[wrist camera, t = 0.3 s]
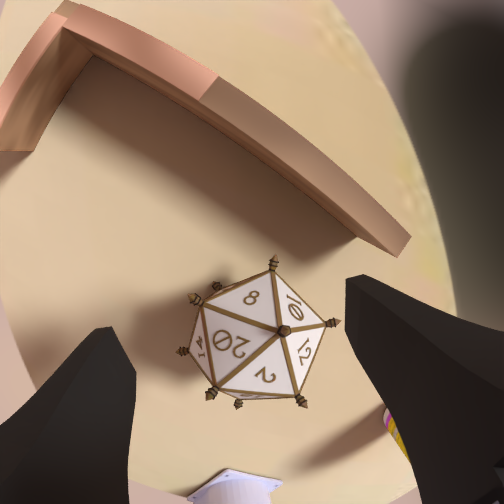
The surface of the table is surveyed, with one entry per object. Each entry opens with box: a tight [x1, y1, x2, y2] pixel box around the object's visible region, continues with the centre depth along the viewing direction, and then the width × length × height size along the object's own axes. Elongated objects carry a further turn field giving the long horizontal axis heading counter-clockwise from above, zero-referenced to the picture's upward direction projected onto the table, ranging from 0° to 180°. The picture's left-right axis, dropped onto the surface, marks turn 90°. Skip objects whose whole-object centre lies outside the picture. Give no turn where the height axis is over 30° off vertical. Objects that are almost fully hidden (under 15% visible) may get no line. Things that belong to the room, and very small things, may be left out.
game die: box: [175, 255, 341, 410], centre depth 17 cm, size 9×8×10 cm
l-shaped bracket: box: [0, 0, 411, 258], centre depth 15 cm, size 9×24×5 cm, turn 54°
